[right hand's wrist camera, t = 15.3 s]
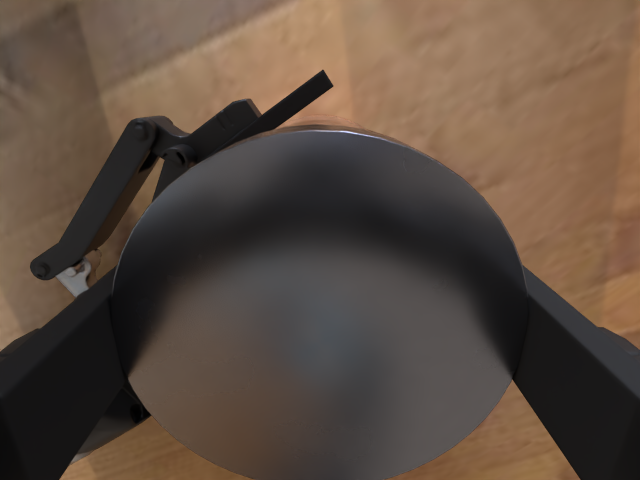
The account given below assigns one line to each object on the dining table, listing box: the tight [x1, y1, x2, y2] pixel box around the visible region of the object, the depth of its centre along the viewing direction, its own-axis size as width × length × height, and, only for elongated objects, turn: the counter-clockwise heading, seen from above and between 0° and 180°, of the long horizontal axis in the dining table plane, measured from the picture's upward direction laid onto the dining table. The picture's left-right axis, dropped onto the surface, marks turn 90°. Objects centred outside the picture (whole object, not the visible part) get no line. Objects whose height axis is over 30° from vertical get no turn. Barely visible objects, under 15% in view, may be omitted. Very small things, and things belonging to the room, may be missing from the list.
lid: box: [111, 124, 529, 480], centre depth 11 cm, size 11×11×2 cm
